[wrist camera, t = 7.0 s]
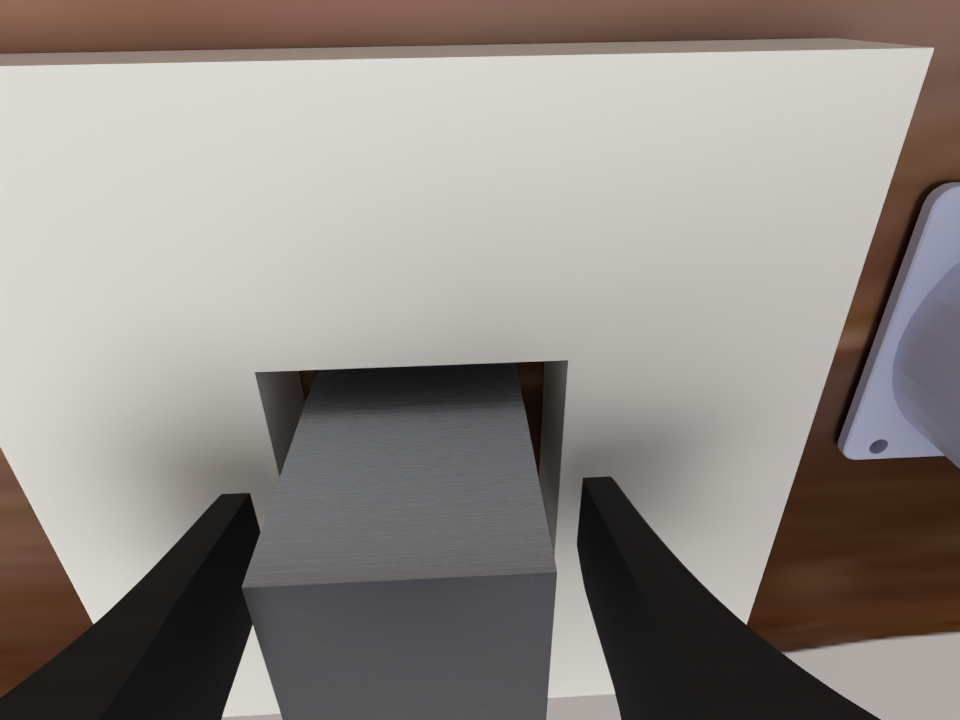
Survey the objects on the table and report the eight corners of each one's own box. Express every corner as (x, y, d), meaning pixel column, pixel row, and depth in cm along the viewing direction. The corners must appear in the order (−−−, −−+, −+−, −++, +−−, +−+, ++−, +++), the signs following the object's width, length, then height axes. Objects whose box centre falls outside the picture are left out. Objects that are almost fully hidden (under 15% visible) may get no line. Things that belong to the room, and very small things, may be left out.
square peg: (507, 321, 16) (556, 571, 9) (506, 458, 18) (544, 741, 11) (331, 327, 16) (241, 587, 9) (352, 464, 18) (293, 756, 11)
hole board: (834, 37, 13) (934, 47, 10) (692, 606, 22) (725, 687, 19) (-60, 55, 12) (-198, 69, 9) (181, 633, 21) (144, 721, 19)
